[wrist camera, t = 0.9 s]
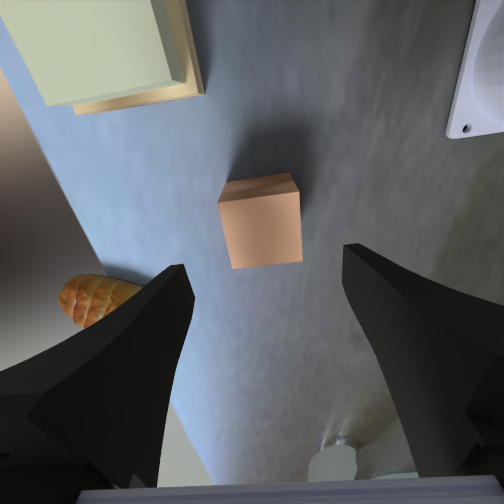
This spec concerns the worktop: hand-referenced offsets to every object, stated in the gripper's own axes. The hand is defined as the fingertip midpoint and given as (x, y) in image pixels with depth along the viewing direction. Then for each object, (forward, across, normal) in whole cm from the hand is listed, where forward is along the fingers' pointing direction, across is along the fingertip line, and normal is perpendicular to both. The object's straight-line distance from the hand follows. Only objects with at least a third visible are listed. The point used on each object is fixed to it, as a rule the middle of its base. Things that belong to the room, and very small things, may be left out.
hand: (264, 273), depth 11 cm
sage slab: (+6, +6, -11) cm, 14 cm away
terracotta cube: (+8, 0, 0) cm, 8 cm away
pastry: (+9, +14, +8) cm, 18 cm away
